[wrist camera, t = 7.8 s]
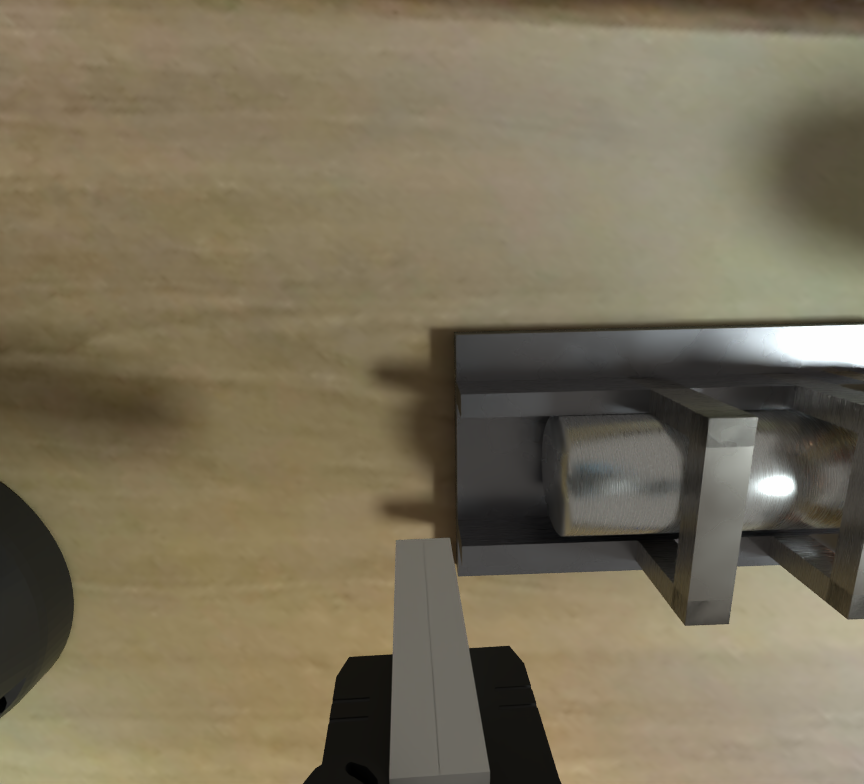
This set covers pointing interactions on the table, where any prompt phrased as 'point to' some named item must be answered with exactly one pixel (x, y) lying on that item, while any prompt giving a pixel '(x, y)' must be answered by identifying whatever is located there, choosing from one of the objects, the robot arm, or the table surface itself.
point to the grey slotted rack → (682, 410)
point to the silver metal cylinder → (666, 468)
